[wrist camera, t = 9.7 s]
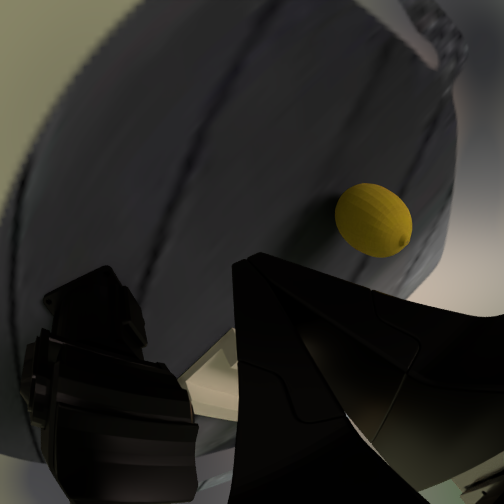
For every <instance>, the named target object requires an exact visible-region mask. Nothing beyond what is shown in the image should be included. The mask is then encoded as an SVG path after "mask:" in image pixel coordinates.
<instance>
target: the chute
mask: <svg viewBox="0 0 504 504" xmlns="http://www.w3.org/2000/svg"><path fill="white" fill-rule="evenodd" d="M237 363H238V361H237V350H236V334H235V329H234V328H231V329H230V330H229V331H228V332H227V333H226V334H225V335H224V336H223V337H222V338H221V339H220V340H219V341H218V342H217V343H216V344H215V345H214V346H213V347H211V348H210V349H209V350H208V351H207V352H206V353H205V354H204V355H203V356H202V357H201V358H200V359H199V360H198V361H197V362H196V363H194V364H193V365H192V366H191V367H190V368H189V369H188V370H187V371H186V372H185V373H184V374H183V375H182V376H180V377H179V378H178V379H177V381H178V382H179V384H180V386H181V387H182V389H186V390H187V392H188V393H189V397H190V400H191V403H192V406H193V410H194V414H199V415H203V416H209V417H214V418H219V419H225V420H231V421H238V400H239V392H238V368H237Z"/></svg>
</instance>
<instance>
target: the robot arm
mask: <svg viewBox="0 0 504 504" xmlns="http://www.w3.org/2000/svg"><path fill="white" fill-rule="evenodd" d="M105 271H107V272H109V274H104V272H105ZM232 282H233V300H234V318H235V334H236V350H237V361H238V363H237V368H238V392H239V400H238V421H237V432H236V444H235V455H234V467H233V476H232V484H231V490H230V495H229V499H228V504H430V503H429V502H428V501H427V500H426V499H424V498H423V496H421V495H420V494H419V493H418V492H419V491H421V490H424V489H427V488H429V487H432V486H435V485H437V484H440V483H442V482H444V481H447V480H449V479H452V480H453V482H454V483H455V484H456V485H457V486H458V487H459V489H460V490H461V491H462V492H463V493H462V494H461V495H460V497H461V499H462V500H463V501H464V502H465V503H466V504H504V314H502V315H499V316H493V317H477V316H471V315H466V314H462V313H457V312H453V311H449V310H444V309H440V308H435V307H431V306H427V305H423V304H419V303H415V302H411V301H407V300H404V299H401V298H397V297H394V296H391V295H388V294H385V293H382V292H379V291H376V290H372V291H371V290H370V289H369V288H366V287H364V286H361V285H358V284H355V283H352V282H349V281H346V280H343V279H340V278H337V277H334V276H331V275H328V274H325V273H322V272H319V271H316V270H313V269H310V268H307V267H304V266H301V265H298V264H295V263H292V262H289V261H286V260H283V259H280V258H277V257H274V256H271V255H269V254H266V253H262V252H259V253H256V254H254V255H252V256H250V257H248V258H247V260H246V259H243V260H241V261H238V262H236V263H234V264H232ZM47 299H50V300H51V301H48V300H47ZM43 303H44V304H45V306H46V307H47V308H48V310H49V311H50V312H51V313H52V315H53V316H54V319H53V325H52V332H51V333H50V331H49V330H46V329H44V328H42V329H41V333H40V337H38V336H37V338H36V341H35V342H34V343H31V344H28V345H27V348H26V353H25V359H24V365H23V371H22V378H21V386H20V393H21V395H22V396H23V398H24V400H25V401H26V403H27V404H28V411H29V412H30V421H31V425H33V426H37V427H40V428H41V451H42V454H43V456H44V458H45V460H46V462H47V465H48V467H49V469H50V471H51V472H52V474H53V476H54V478H55V479H56V481H57V482H58V484H59V485H60V487H61V489H62V490H63V492H64V493H65V495H66V496H67V498H68V499H69V501H70V504H171V503H184V502H191V501H192V500H193V499H194V496H195V494H196V491H197V488H198V481H197V474H196V466H195V442H196V438H197V434H198V429H199V426H198V424H197V423H194V422H195V420H194V410H193V406H192V403H191V400H190V397H189V393H188V392H187V390H186V389H182V387H181V386H180V384H179V382H178V381H177V379H176V377H175V376H174V375H173V374H172V373H171V372H170V371H169V369H168V368H167V366H166V365H165V364H164V363H160V362H156V363H153V362H149V361H144V357H143V352H142V348H144V347H146V346H147V343H148V342H147V337H146V332H145V327H144V326H145V321H144V319H143V316H142V310H141V308H140V306H139V305H138V303H137V301H136V300H135V298H134V297H133V295H132V293H131V292H130V290H129V288H128V287H126V286H122V284H121V283H120V281H119V279H118V278H117V276H116V274H115V273H114V271H113V269H112V268H111V267H110V266H106V265H105V266H102V267H100V268H98V269H96V270H94V271H92V272H90V273H88V274H86V275H84V276H81V277H79V278H77V279H75V280H73V281H71V282H69V283H67V284H65V285H63V286H61V287H59V288H57V289H55V290H53V291H51V292H49V293H47V294H46V295H45V296H44V299H43ZM344 411H345V412H344ZM346 414H347V415H348V416H349V418H350V419H351V420H352V421H353V422H354V424H355V425H356V426H357V427H358V428H359V430H360V431H361V432H362V433H363V434H364V436H365V437H366V438H367V439H368V440H369V442H370V443H372V445H373V447H374V448H375V449H376V450H377V451H378V452H379V454H380V455H381V456H382V457H383V458H384V459H385V461H386V462H387V463H388V464H389V465H390V466H389V465H388V464H387V463H386V462H385V461H384V460H383V459H382V458H381V457H380V456H379V455H378V454H377V453H376V452H375V451H374V450H373V449H372V448H371V447H370V446H368V444H367V443H366V442H365V441H364V440H363V439H362V438H361V436H360V435H359V434H358V432H357V431H356V430H355V428H354V427H353V425H352V424H351V422H350V420H349V419H348V417H346Z"/></svg>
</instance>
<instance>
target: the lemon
mask: <svg viewBox="0 0 504 504" xmlns="http://www.w3.org/2000/svg"><path fill="white" fill-rule="evenodd" d="M335 221H336V225H337V227H338V230H339V232H340V234H341V235H342V237H343V238H344V239H345V240H346V241H347V242H348V243H349V244H350V245H351V246H352V247H354V248H355V249H357V250H359V251H361V252H363V253H365V254H367V255H370V256H373V257H389V256H392V255H394V254H396V253H398V252H399V251H401V250H402V249H403V248H404V247H405V246H406V245H408V243H409V241H410V236H411V232H412V220H411V216H410V212H409V210H408V208H407V207H406V206H405V204H404V203H403V202H402V200H401V199H400V198H399V197H398V196H396V195H395V194H394V193H392V192H391V191H389V190H387V189H386V188H384V187H381V186H379V185H375V184H367V183H363V184H358V185H354V186H353V187H351V188H349V189H347V190H346V191H345V192H344V193H343V194H342V195H341V197H340V198H339V200H338V202H337V205H336V209H335Z"/></svg>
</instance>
